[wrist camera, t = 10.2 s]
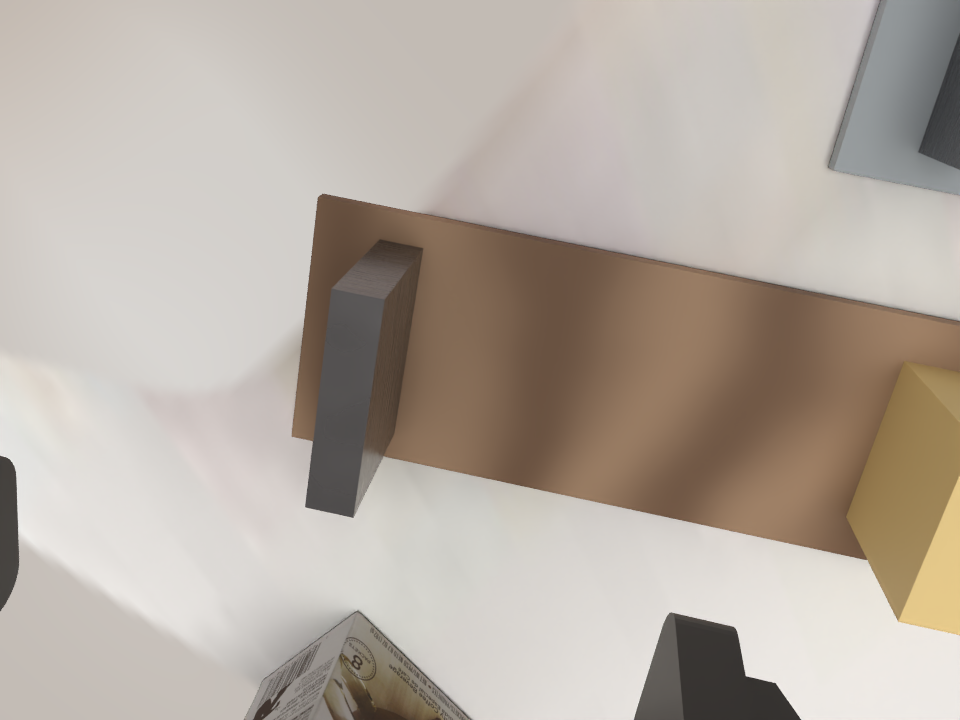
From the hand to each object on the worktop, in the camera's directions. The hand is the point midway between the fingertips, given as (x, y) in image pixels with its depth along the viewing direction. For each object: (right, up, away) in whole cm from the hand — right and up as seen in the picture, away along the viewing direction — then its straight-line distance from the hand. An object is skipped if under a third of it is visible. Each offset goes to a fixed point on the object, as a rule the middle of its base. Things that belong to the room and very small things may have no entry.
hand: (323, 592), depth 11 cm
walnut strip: (+10, +1, +21) cm, 24 cm away
